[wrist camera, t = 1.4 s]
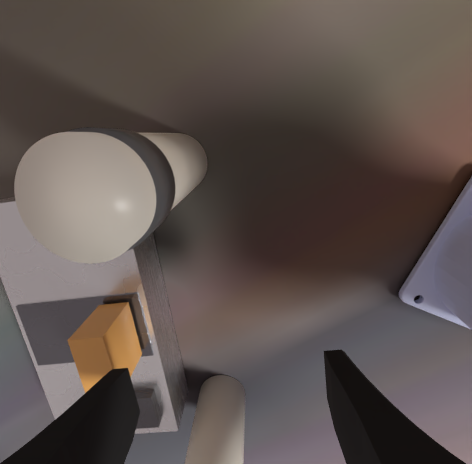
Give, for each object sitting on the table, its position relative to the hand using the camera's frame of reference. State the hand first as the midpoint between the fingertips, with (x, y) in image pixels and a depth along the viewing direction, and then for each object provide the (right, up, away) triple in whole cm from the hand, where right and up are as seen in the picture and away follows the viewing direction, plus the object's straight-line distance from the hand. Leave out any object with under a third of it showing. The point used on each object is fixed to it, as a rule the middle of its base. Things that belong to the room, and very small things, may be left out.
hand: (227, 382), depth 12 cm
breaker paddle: (-5, 0, +4) cm, 7 cm away
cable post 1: (-3, +9, +5) cm, 11 cm away
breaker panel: (-7, +1, +8) cm, 11 cm away
